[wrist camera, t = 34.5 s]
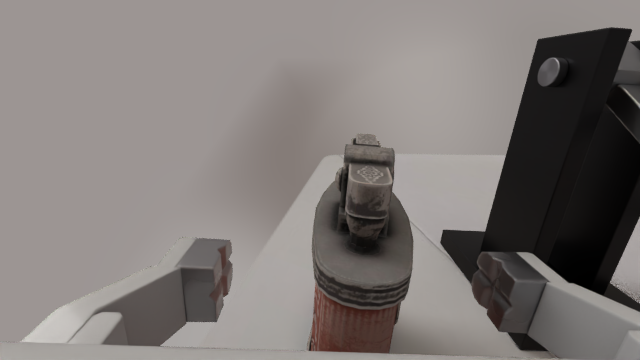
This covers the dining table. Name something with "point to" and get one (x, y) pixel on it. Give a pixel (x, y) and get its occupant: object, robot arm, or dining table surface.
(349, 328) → the lighter
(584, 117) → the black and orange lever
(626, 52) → the switch
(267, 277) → the dining table surface
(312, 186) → the dining table surface
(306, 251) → the dining table surface
